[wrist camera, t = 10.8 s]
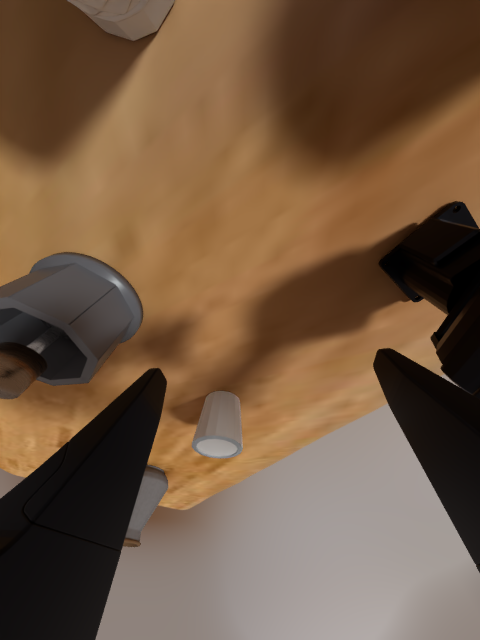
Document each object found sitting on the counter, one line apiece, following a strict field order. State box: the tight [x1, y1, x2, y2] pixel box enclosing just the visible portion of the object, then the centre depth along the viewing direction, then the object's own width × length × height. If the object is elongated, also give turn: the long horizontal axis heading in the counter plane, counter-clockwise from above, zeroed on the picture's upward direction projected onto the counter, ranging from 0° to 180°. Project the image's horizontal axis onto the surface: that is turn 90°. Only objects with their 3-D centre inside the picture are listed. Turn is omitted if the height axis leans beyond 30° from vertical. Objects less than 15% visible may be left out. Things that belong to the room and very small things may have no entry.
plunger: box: [0, 319, 73, 399], centre depth 17 cm, size 7×7×8 cm
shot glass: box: [192, 391, 243, 458], centre depth 30 cm, size 7×7×7 cm
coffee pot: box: [123, 465, 168, 547], centre depth 49 cm, size 21×12×15 cm, turn 146°
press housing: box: [0, 252, 143, 386], centre depth 20 cm, size 13×11×8 cm
